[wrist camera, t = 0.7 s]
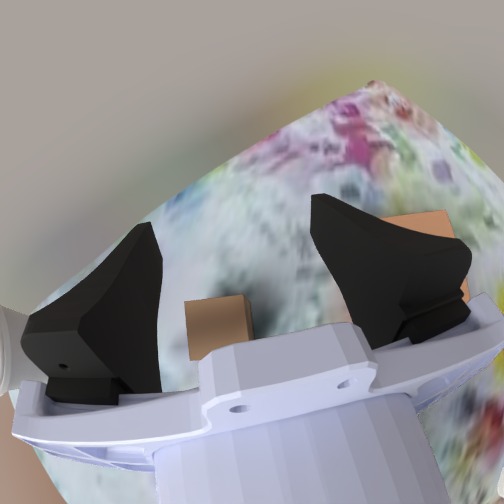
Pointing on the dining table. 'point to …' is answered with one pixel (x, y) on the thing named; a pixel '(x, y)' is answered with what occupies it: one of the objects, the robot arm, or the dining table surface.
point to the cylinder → (501, 484)
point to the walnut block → (217, 324)
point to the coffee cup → (15, 353)
